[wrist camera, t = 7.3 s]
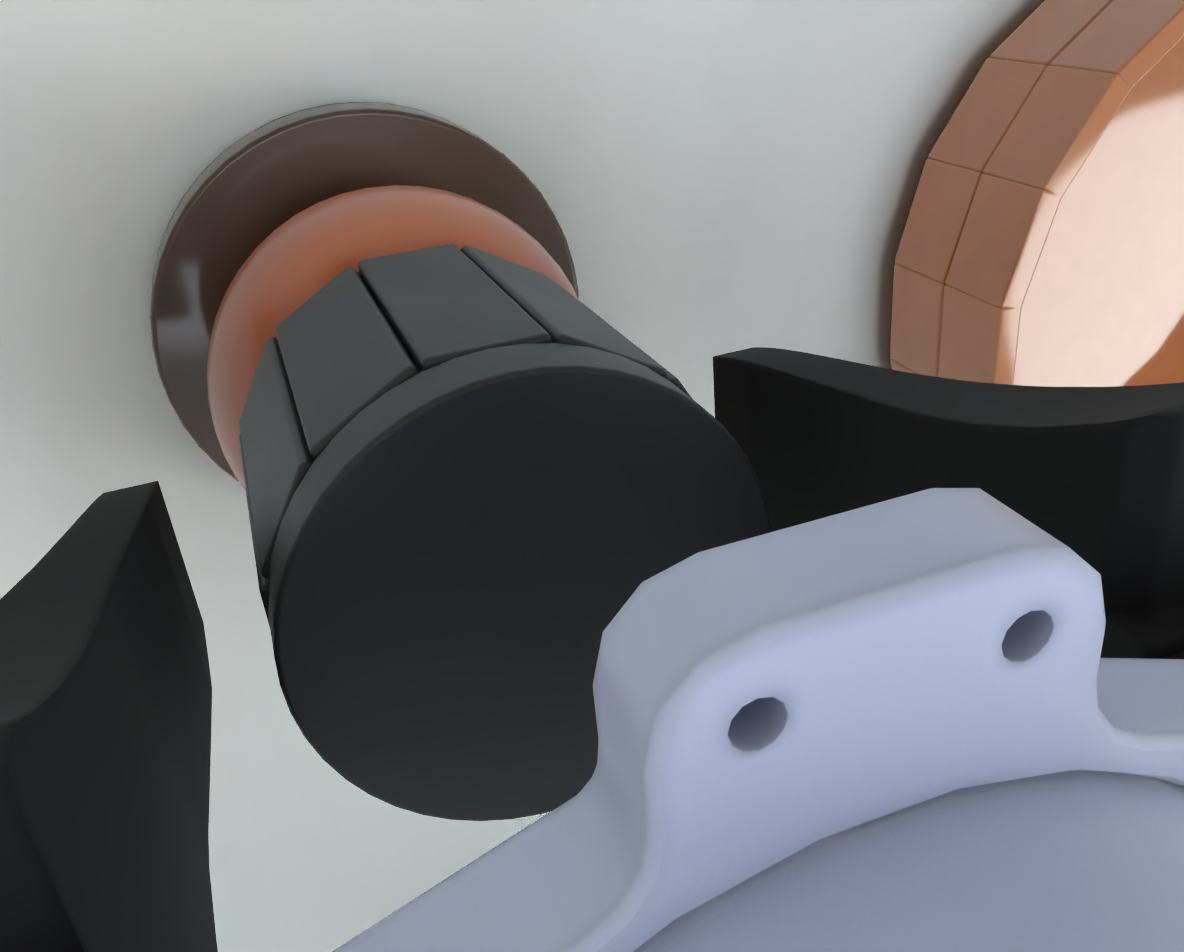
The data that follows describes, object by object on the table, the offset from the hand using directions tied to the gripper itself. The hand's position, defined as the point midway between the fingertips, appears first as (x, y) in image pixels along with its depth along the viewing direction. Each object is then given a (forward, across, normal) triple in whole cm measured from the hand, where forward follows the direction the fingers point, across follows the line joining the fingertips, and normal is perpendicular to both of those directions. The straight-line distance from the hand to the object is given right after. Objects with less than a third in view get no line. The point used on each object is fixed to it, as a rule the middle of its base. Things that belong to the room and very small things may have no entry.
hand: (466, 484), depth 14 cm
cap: (+2, 0, 0) cm, 2 cm away
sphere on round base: (+8, 0, 0) cm, 8 cm away
